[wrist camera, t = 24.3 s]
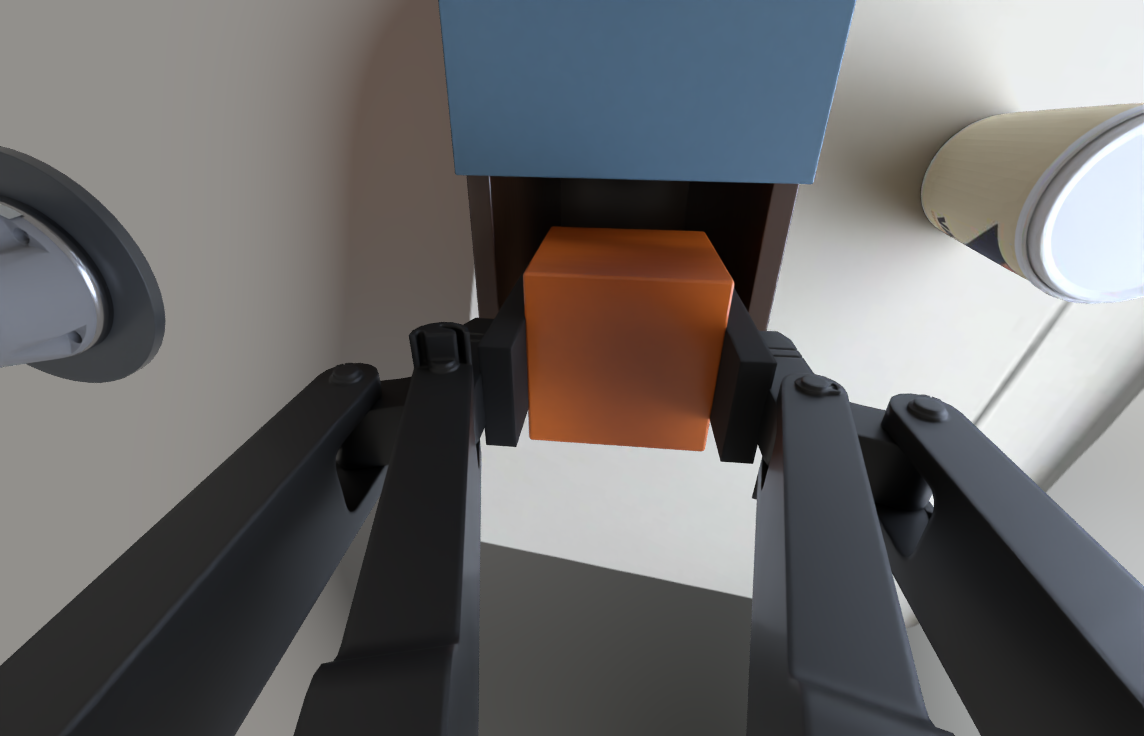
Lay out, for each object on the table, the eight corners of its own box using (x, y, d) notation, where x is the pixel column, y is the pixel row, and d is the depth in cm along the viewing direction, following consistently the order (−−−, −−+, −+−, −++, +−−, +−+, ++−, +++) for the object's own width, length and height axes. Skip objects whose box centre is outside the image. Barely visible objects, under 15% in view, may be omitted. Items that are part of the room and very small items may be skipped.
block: (552, 360, 18) (528, 440, 14) (550, 225, 16) (522, 272, 12) (686, 367, 18) (705, 453, 14) (705, 230, 16) (736, 281, 11)
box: (552, 259, 38) (485, 402, 20) (550, 17, 31) (441, -102, 13) (688, 265, 38) (747, 419, 19) (720, 17, 30) (866, -110, 12)
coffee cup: (880, 229, 35) (989, 284, 24) (958, 82, 30) (1132, 72, 20) (1004, 260, 35) (1165, 328, 25) (1100, 118, 31) (1348, 126, 20)
